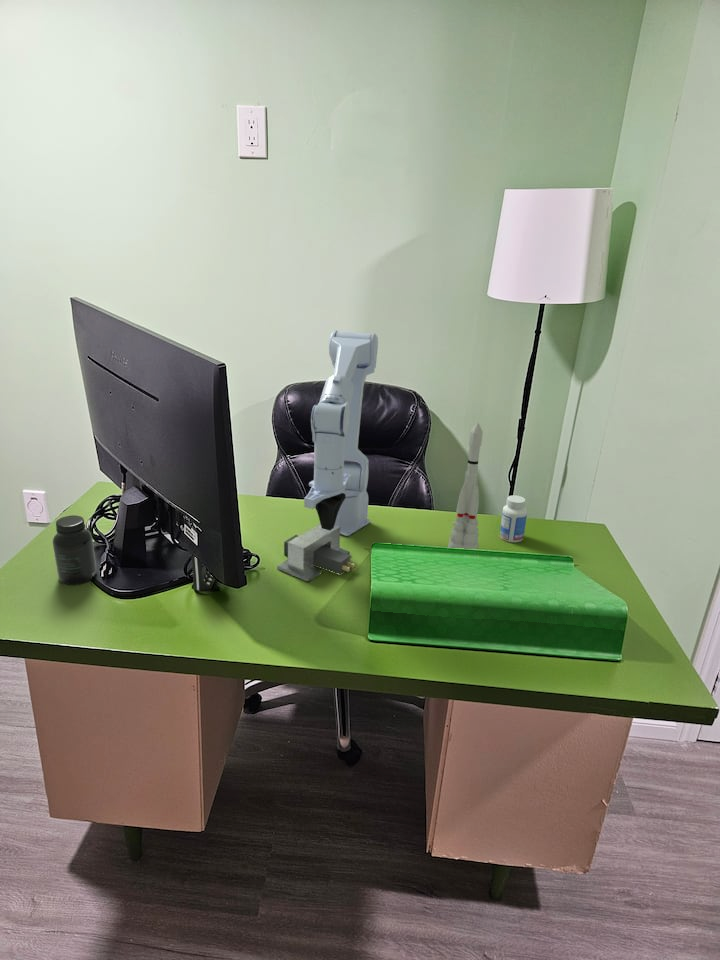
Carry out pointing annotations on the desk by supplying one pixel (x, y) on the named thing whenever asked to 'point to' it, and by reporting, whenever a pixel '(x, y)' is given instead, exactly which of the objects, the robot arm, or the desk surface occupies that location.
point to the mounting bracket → (309, 551)
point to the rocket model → (468, 499)
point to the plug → (328, 558)
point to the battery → (201, 576)
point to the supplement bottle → (73, 550)
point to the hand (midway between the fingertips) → (327, 528)
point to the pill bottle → (513, 519)
